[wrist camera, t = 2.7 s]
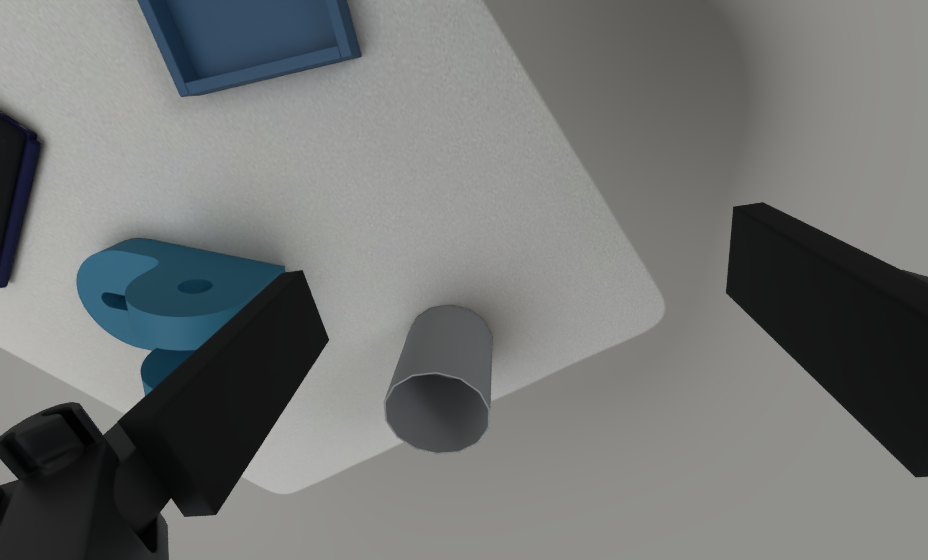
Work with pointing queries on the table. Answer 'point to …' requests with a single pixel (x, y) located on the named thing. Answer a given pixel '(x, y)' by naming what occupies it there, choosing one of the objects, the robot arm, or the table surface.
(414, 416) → the cup
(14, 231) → the laptop
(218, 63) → the tray
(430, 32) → the table surface
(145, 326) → the camera mount
